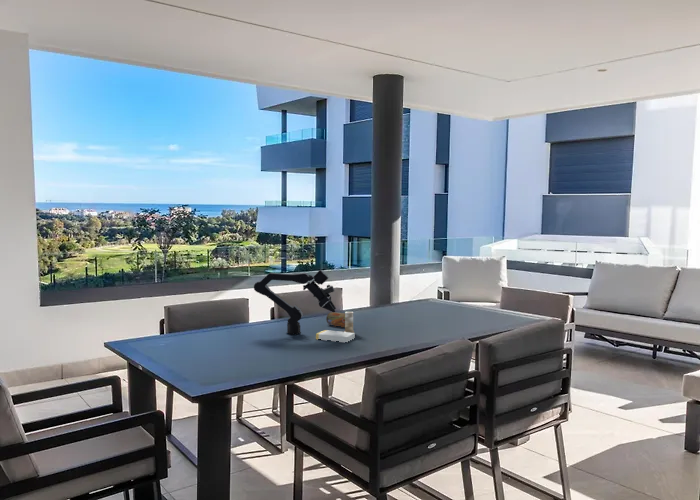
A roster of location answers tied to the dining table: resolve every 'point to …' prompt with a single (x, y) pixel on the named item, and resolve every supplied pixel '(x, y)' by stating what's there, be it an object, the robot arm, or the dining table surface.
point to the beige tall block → (349, 322)
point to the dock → (335, 336)
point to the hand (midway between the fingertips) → (335, 310)
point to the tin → (336, 319)
